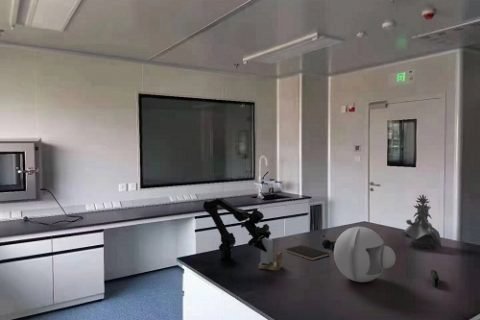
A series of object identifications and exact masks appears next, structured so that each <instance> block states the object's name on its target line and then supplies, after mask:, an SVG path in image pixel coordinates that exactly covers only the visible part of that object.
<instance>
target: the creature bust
mask: <svg viewBox="0 0 480 320" xmlns="http://www.w3.org/2000/svg"><path fill="white" fill-rule="evenodd" d="M421 195H422V196H421ZM421 195H420V194H419V195H418V196H419V197H416V199H417V200H416V199H415V201H416V202H417V204H415V205H413V207H414V208H415V209H417V212H415V214H414V215H413V218H414V221H412V220H411V219H406V220H405V222H406V224H407V225H409V226H408V227H406V229H405V230H404V231H402V232H401V237H402V238H404V239H410V243H409V246H410V245H415V246H414V247H417V246H421V247H420V248H424V247H429V248H428V249H434V247H433V246H437V247H440V248H442V242H441V241H442V240H441V236H440V235H441V234H440V232H439V231H438V230H437V229H436V228H434V227H433V224H432V223H430V222H429V220H428V218H430V219H431V220H432V219H433V218H432V216H431V214H429V210H430V209H431V207H432V206H430V205H428V204H429V203H430V201H428V200H429V198H427V195H425V196H424V194H421Z"/></svg>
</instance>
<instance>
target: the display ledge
mask: <svg viewBox="0 0 480 320" xmlns="http://www.w3.org/2000/svg"><path fill="white" fill-rule="evenodd" d="M275 256H276V258H275V259H276V260H275V261H273V262H271V263H269V264H265V263H261V262H259V264H257V265H258V266H257V269H259V270H261V269H262V270H267V271H268V270H269V271H276V272H278V271H280V270H281V268H283V251H282V250H279V251H278V252H277V253H276V255H275Z"/></svg>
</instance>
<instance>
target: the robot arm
mask: <svg viewBox="0 0 480 320" xmlns="http://www.w3.org/2000/svg"><path fill="white" fill-rule="evenodd" d="M202 205H203V206H202V207H203V209H204V211H205V212H206V213H207V214H208V215H210V217H211V219H212V221H213V223H214V225H215V226H216V229H217V230H218V232H219V233H218V234H220V241H221V244H219V246H218V249H219V251H220V258H219V260H222V261H230V260H232V259H233V258H234V256H233V255H234V254H233V253H234V252H233V248H234V246H235V244H236V237H235V235H234V233H233V232H229V230H228V229H227V227H226V224H225V223H224V221H223V220H222V218H221V215H220V213H219V212H218V208H219V207H218V206H220V207H221V208H222V209H224V210H226V211H227V212H229V213H230V214H231V215H232V216H233V217H234V218H235V220H237V222H241V225H240V228H245V229H246V230H247V232H248V235H249V236H251V238H250V239H249V240H248V241H247V245H248V246H249V247H255V248H256V249H259V250H260V251H261V250H263V251H265V252H267V250H266V248H265V246H264V245H263V243H262V239H264V238H268V239H270V236H271V235H272V232H271V231H270V226H269V224H268V223H265V224H263V226H262V227H260V226H257V225H258V224H259V223H260V222H261V221H262V219H264V214H263V213H262V212H261V211H259V210H258V209H256V208H255V209H254V210H253V211H252V213H251V212H249V211H247V210H245V209H242V208H239V207H236V206H235V205H233V204H231V203H230V202H229V201H227V200H225V199H224V198H223V197H217V198H215V199H209V200H206V201H204V202H203V204H202Z"/></svg>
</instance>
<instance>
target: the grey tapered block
mask: <svg viewBox="0 0 480 320" xmlns="http://www.w3.org/2000/svg"><path fill="white" fill-rule="evenodd" d="M262 243H263V245H264V246H265V248H266V250H267V252H265V251H263V250H261V249H260V263H265V264H269V263H271V262H274V238H273V239H272V238H269V239H268V238H264V239H262Z"/></svg>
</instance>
